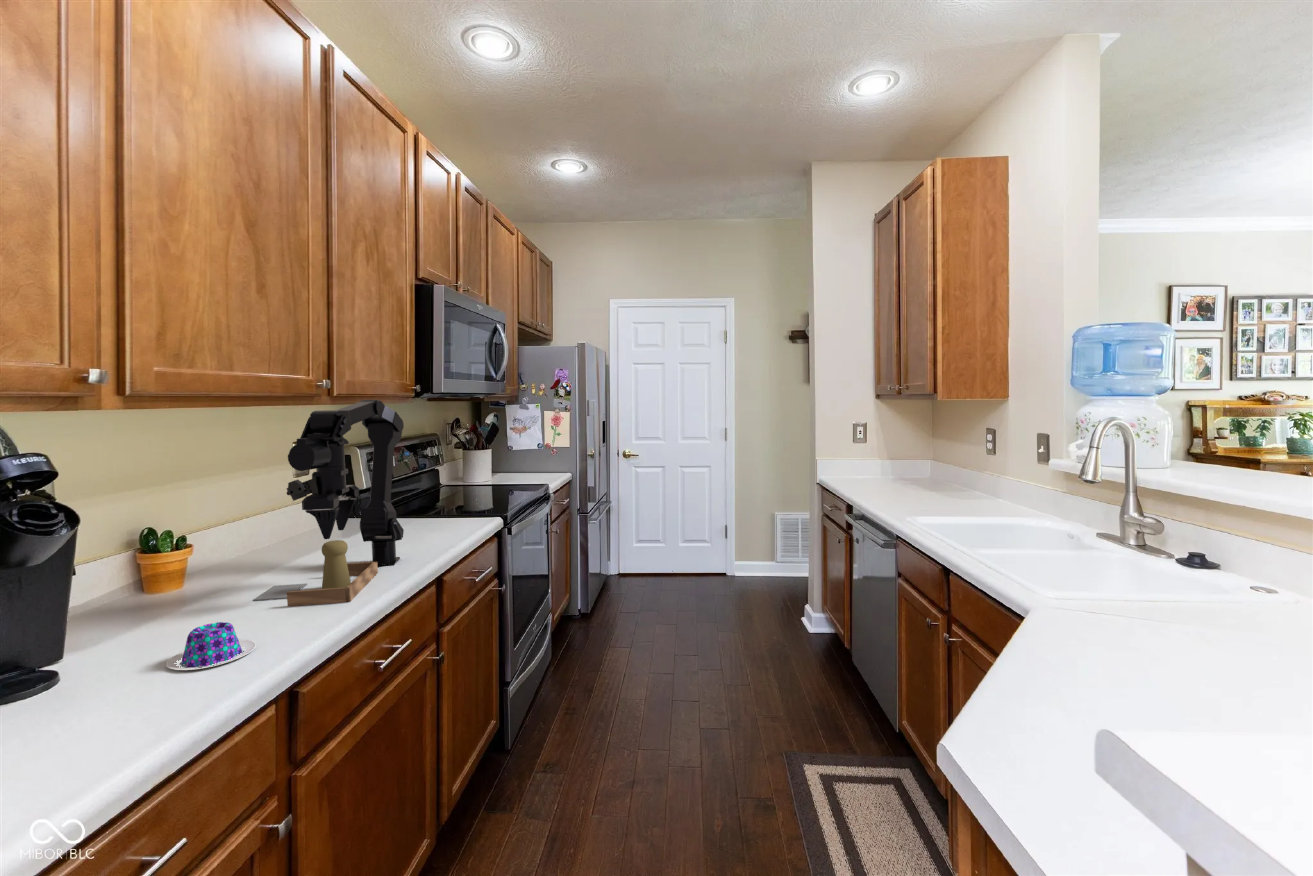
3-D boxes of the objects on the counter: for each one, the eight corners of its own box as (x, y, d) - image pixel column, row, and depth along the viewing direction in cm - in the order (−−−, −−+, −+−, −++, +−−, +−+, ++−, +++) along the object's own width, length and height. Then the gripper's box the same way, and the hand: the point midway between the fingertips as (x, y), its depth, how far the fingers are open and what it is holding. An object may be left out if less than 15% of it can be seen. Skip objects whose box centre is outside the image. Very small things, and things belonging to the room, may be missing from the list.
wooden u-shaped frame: (325, 576, 144) (324, 564, 143) (377, 573, 146) (377, 561, 146) (287, 606, 122) (286, 592, 122) (349, 602, 125) (349, 588, 124)
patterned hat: (244, 638, 107) (242, 609, 106) (266, 655, 99) (264, 625, 99) (159, 660, 98) (157, 629, 97) (175, 682, 90) (173, 648, 90)
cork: (357, 584, 137) (354, 538, 136) (340, 593, 131) (338, 544, 130) (332, 584, 137) (330, 538, 137) (315, 592, 131) (312, 544, 131)
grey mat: (274, 586, 136) (273, 585, 136) (307, 584, 137) (307, 583, 137) (253, 601, 126) (253, 599, 126) (288, 598, 128) (288, 597, 128)
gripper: (307, 463, 140) (311, 528, 141) (272, 472, 122) (276, 546, 123) (358, 461, 142) (361, 525, 143) (331, 469, 124) (334, 543, 125)
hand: (334, 534), depth 133 cm, fingers open, 9 cm apart
